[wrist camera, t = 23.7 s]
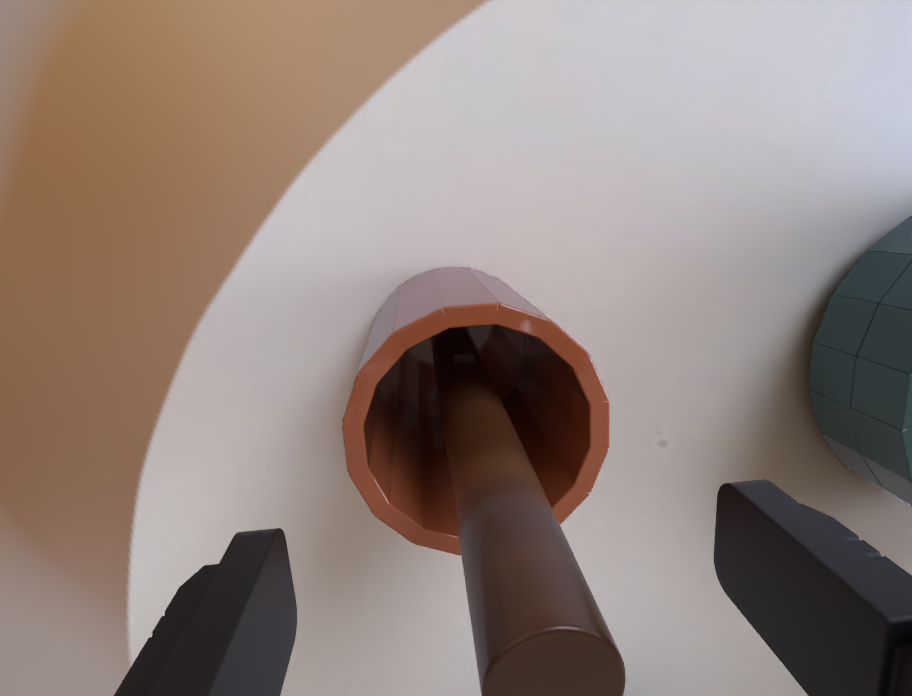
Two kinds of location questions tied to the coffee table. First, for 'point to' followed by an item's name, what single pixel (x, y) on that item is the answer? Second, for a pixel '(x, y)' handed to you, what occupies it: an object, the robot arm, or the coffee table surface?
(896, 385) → the bowl
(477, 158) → the coffee table surface
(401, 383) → the crock
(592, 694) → the stick
